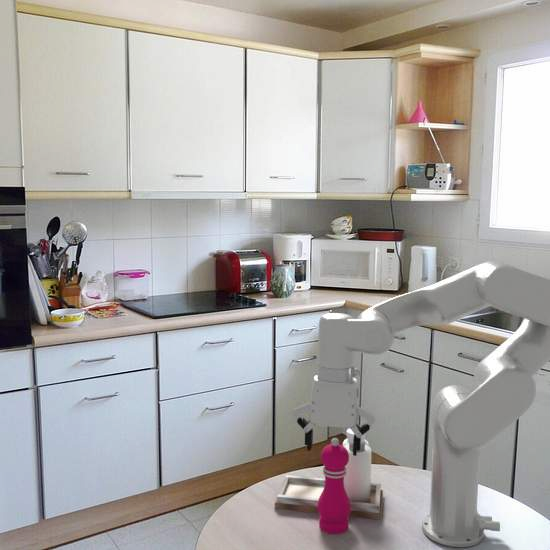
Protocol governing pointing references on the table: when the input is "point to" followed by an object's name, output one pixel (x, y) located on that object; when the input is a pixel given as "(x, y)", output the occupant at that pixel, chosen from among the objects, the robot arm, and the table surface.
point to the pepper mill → (334, 490)
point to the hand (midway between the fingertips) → (332, 450)
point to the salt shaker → (358, 473)
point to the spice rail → (307, 491)
